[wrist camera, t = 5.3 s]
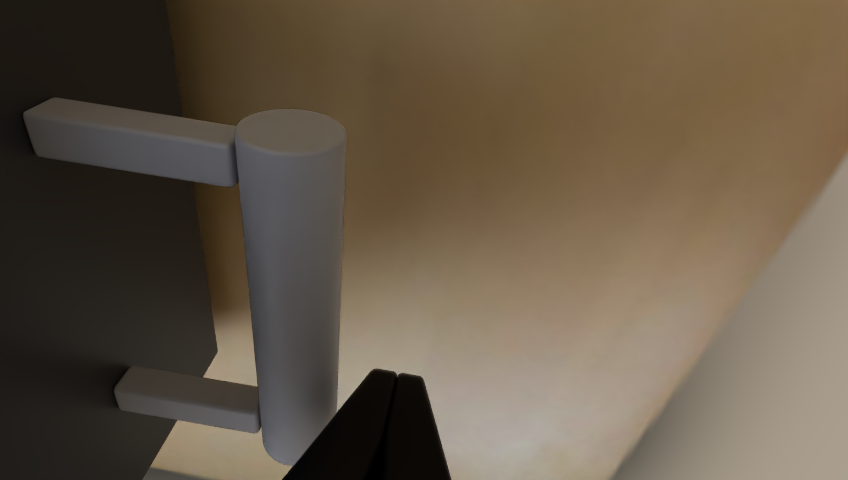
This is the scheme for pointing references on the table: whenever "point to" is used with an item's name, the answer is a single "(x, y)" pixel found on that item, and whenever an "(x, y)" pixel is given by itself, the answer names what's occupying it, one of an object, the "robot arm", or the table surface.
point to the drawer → (149, 250)
